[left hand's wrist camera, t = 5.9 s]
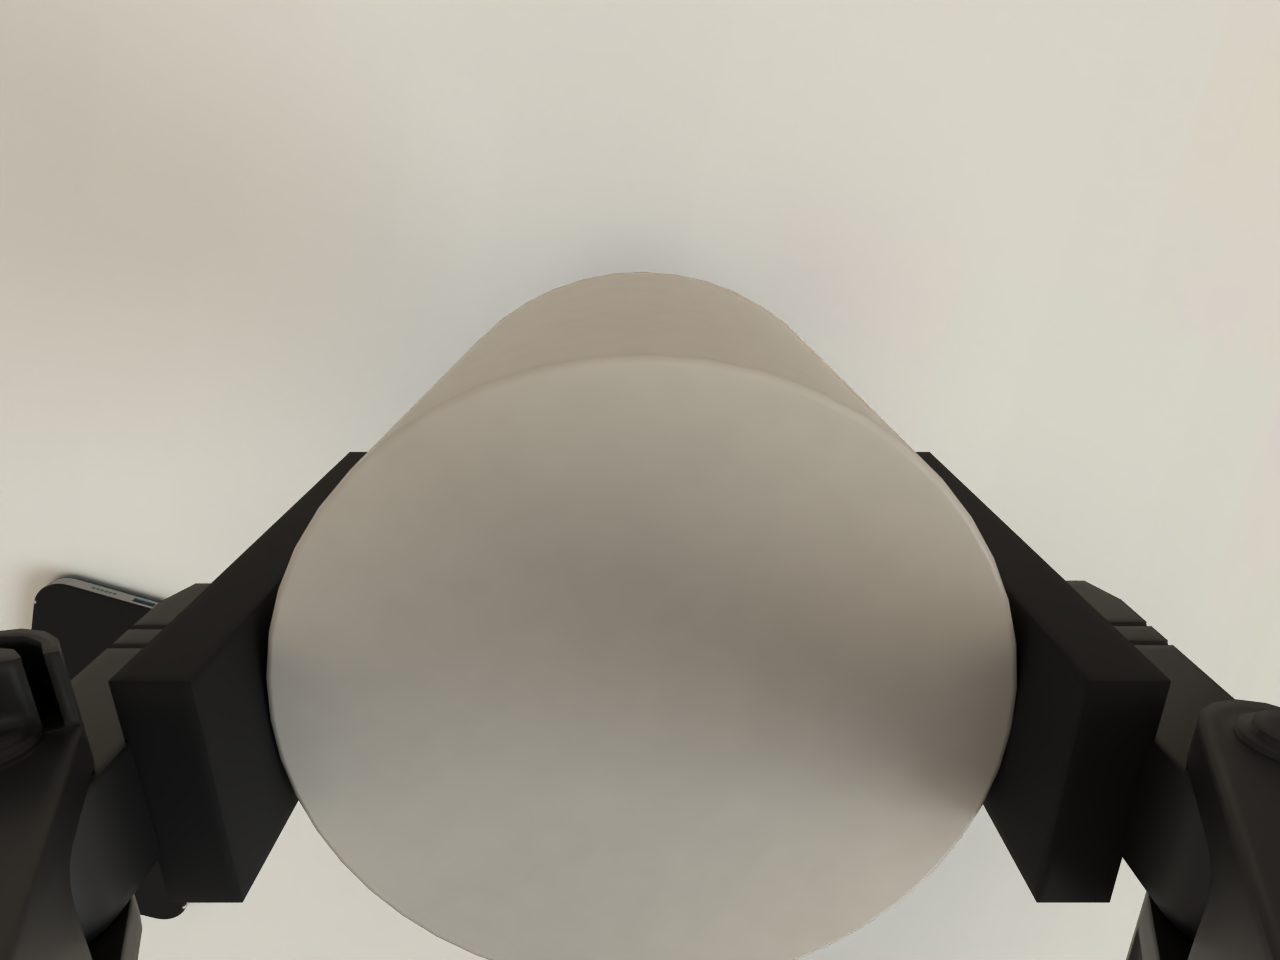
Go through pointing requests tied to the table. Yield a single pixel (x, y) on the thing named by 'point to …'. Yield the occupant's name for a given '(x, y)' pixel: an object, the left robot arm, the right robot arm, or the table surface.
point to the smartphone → (84, 632)
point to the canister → (641, 643)
